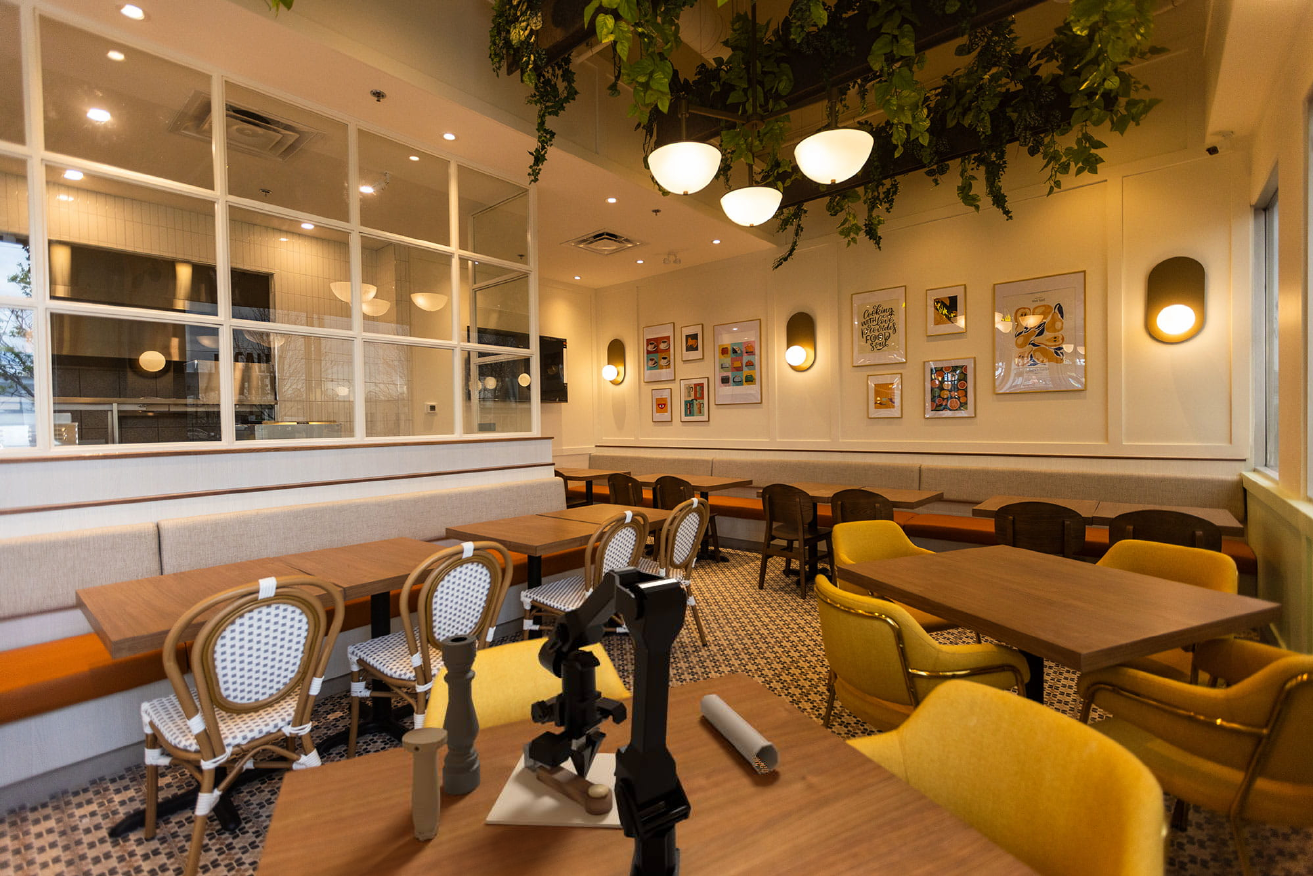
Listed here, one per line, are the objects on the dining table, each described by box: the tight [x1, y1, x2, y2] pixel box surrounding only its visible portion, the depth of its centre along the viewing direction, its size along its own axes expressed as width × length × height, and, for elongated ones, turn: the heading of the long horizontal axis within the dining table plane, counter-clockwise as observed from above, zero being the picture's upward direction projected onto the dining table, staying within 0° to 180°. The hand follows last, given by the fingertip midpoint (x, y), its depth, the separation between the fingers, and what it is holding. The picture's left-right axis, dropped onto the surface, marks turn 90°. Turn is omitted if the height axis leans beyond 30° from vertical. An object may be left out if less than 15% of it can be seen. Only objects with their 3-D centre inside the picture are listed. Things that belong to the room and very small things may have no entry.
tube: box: [699, 693, 780, 775], centre depth 115 cm, size 5×5×25 cm
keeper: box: [522, 740, 568, 773], centre depth 104 cm, size 8×4×4 cm, turn 46°
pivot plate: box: [485, 752, 624, 829], centre depth 100 cm, size 20×22×3 cm
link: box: [536, 765, 613, 815], centre depth 97 cm, size 16×4×2 cm, turn 49°
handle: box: [401, 726, 447, 842], centre depth 89 cm, size 5×6×15 cm
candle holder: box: [441, 633, 481, 796], centre depth 101 cm, size 6×6×25 cm
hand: (582, 779), depth 99 cm, fingers closed
